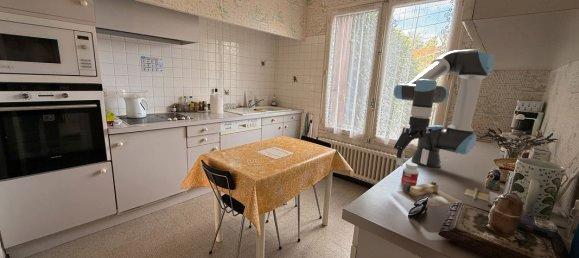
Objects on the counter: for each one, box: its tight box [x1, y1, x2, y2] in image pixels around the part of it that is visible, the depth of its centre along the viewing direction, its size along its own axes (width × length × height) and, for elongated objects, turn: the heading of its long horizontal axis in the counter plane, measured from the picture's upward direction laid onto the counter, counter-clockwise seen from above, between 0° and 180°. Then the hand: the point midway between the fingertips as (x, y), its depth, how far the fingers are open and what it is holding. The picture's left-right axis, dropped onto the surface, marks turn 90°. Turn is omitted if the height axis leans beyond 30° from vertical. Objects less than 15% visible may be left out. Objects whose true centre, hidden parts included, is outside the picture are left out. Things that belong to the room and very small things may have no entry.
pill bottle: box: [400, 161, 420, 186], centre depth 105 cm, size 6×6×11 cm
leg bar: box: [409, 181, 440, 196], centre depth 97 cm, size 14×4×4 cm, turn 114°
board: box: [396, 182, 463, 209], centre depth 95 cm, size 20×14×5 cm
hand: (411, 164), depth 103 cm, fingers open, 13 cm apart
